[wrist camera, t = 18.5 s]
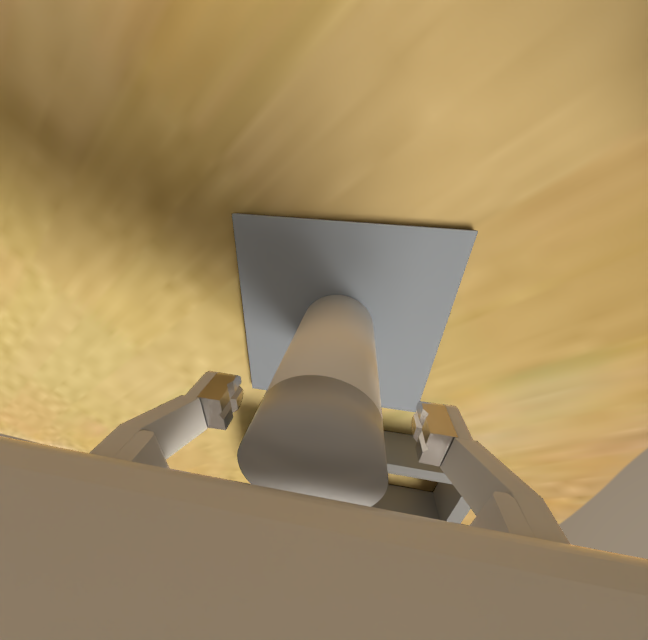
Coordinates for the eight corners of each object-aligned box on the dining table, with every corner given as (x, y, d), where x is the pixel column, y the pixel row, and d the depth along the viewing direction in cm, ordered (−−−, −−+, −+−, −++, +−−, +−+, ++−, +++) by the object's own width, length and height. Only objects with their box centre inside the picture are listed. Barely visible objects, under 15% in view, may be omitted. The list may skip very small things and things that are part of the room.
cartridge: (302, 352, 18) (245, 499, 9) (303, 291, 16) (227, 409, 7) (367, 360, 17) (374, 525, 9) (378, 299, 15) (403, 437, 6)
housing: (263, 468, 27) (253, 497, 24) (257, 410, 22) (243, 438, 20) (441, 500, 25) (451, 536, 22) (472, 444, 20) (489, 481, 18)
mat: (254, 384, 21) (252, 388, 20) (235, 213, 14) (231, 213, 14) (414, 408, 19) (415, 412, 19) (474, 230, 13) (478, 231, 12)
